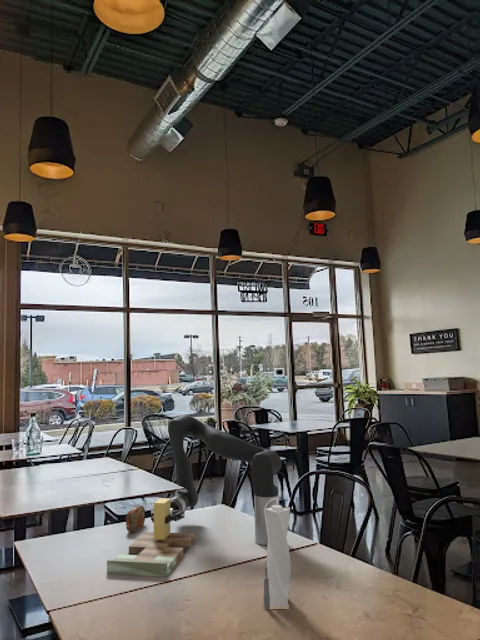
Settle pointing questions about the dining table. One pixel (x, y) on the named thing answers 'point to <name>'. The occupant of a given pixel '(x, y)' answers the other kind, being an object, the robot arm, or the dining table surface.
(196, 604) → the dining table surface
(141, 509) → the tin
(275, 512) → the skyscraper
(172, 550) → the board
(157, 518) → the block
